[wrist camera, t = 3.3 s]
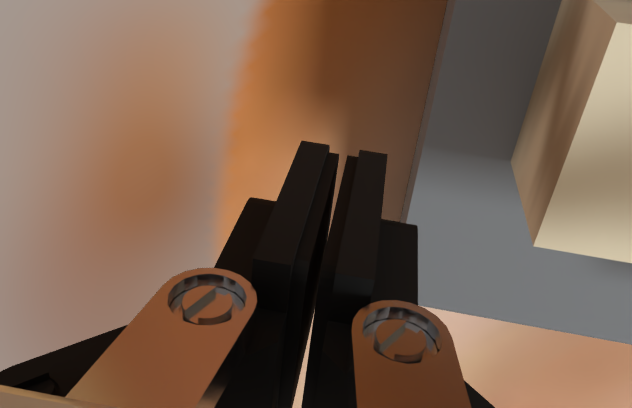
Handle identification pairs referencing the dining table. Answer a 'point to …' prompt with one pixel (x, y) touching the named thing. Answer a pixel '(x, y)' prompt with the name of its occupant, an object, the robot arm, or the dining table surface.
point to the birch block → (581, 135)
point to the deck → (497, 185)
